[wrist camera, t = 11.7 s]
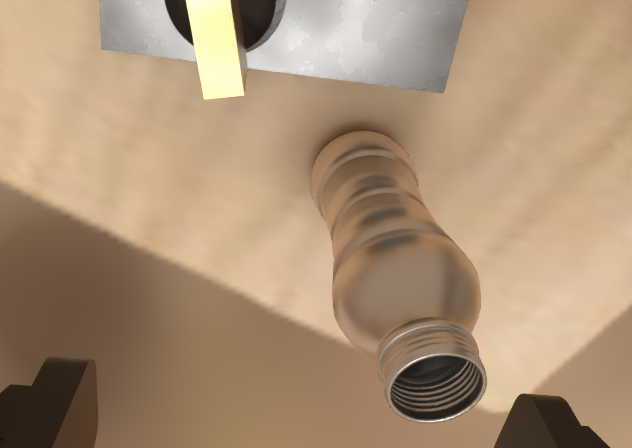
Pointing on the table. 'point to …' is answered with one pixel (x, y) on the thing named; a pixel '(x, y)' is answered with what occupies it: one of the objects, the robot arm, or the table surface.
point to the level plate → (316, 38)
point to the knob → (222, 38)
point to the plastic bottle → (399, 279)
